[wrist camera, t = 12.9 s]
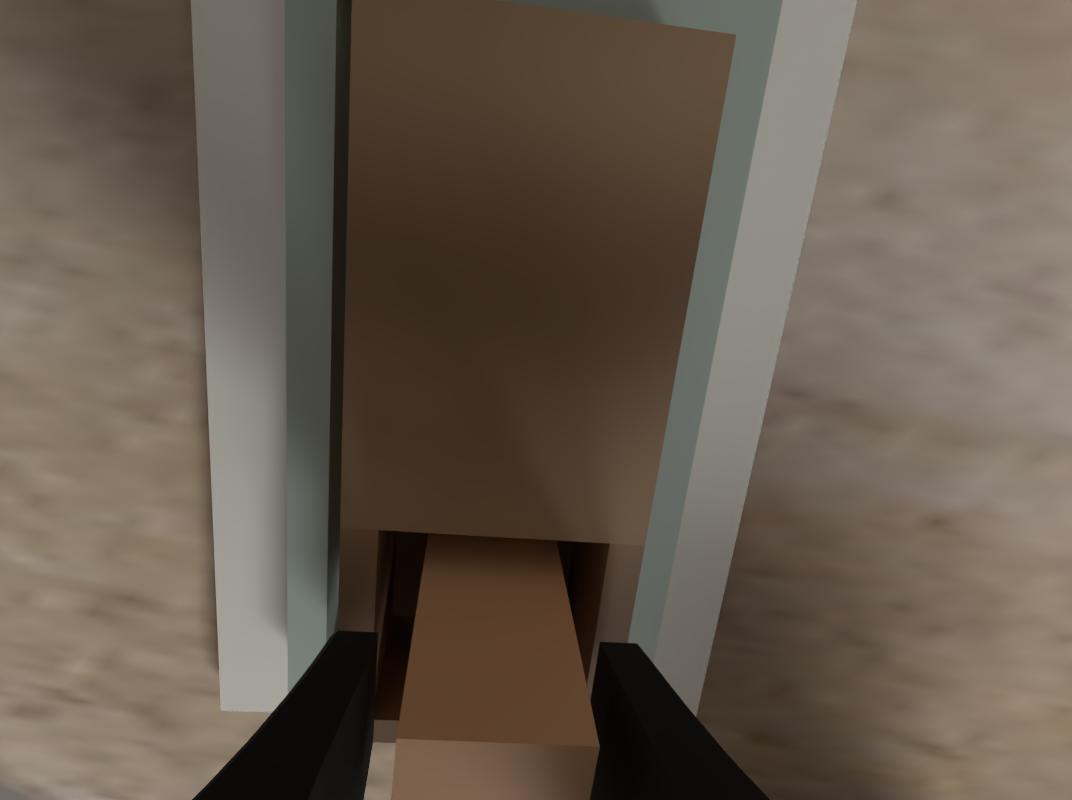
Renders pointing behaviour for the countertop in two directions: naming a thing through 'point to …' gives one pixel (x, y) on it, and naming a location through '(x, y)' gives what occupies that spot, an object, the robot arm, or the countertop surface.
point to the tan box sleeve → (514, 295)
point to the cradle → (319, 316)
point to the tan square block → (494, 678)
